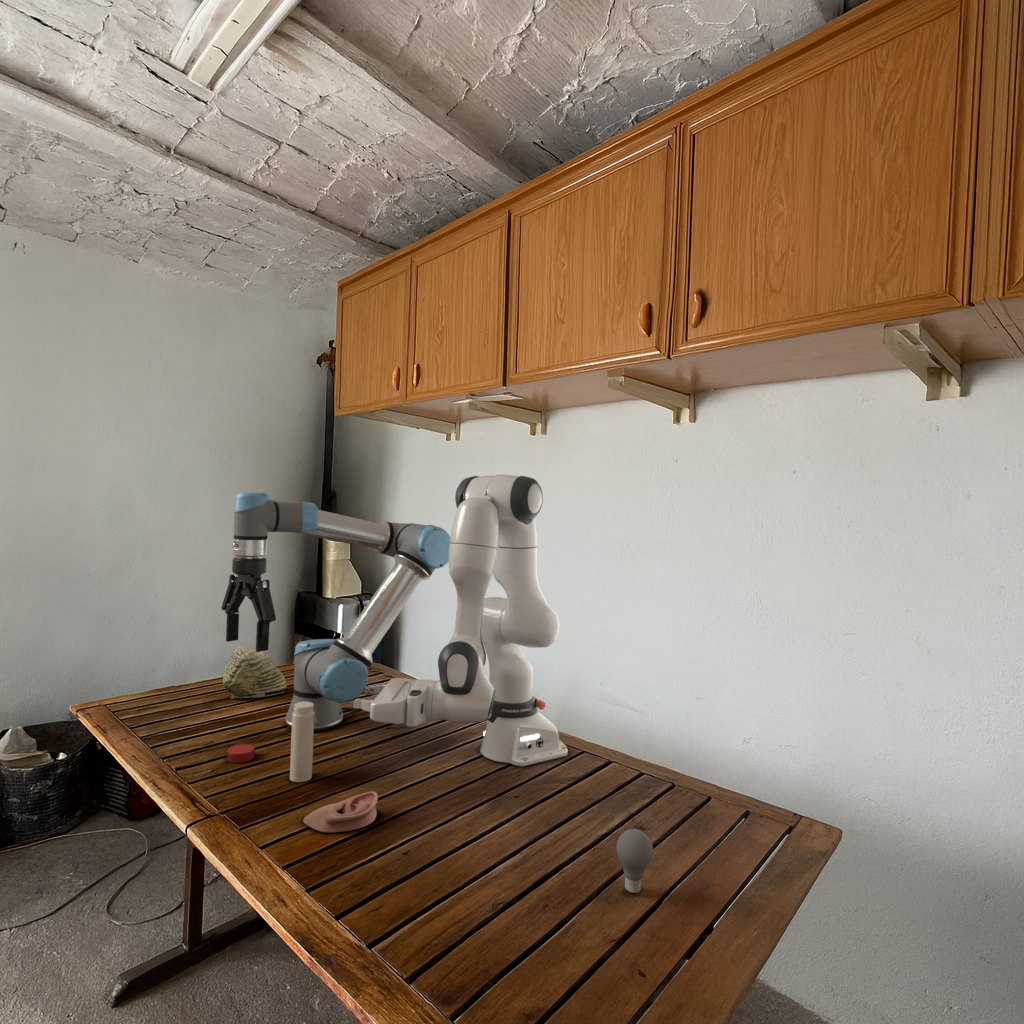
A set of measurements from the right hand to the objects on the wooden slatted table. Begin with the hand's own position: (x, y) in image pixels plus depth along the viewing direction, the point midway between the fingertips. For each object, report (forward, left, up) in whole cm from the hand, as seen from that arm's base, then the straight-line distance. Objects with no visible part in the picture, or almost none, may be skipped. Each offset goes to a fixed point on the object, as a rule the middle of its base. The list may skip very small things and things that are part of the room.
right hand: (360, 696), depth 142 cm
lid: (+24, -21, -17) cm, 36 cm away
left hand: (+24, -21, +8) cm, 32 cm away
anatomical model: (+6, +16, -19) cm, 26 cm away
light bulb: (-37, +55, -19) cm, 68 cm away
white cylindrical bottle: (+12, -5, -19) cm, 23 cm away
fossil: (+20, -70, -19) cm, 75 cm away
